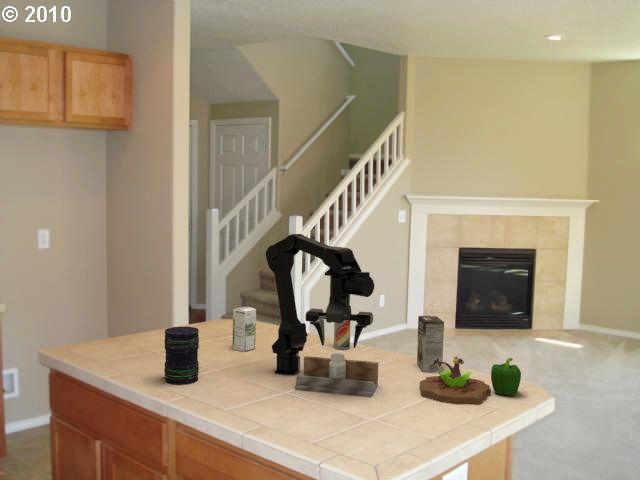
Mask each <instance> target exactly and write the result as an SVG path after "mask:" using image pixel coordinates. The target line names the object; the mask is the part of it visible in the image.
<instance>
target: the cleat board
mask: <svg viewBox="0 0 640 480" xmlns="http://www.w3.org/2000/svg"><path fill="white" fill-rule="evenodd" d="M330 361H331V357H320V356H307V355H304V356H303V375H302V374H301V375H300V374H296V377H295V378H296V379H295V380H296V383H295V385H294V391H300V392H301V391H302V392H310V393H311V392H314V393H323V394H335V395H345V396H355V397H366V398H373V396H374V394H375V392H376V390H377V388H378V386H379V361H371V360H370V361H368V360H357V359H356V360H355V359H346V358H345V360H344V361H345V362H346V379H337V378H329V362H330Z"/></svg>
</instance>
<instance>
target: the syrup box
mask: <svg viewBox="0 0 640 480" xmlns="http://www.w3.org/2000/svg"><path fill="white" fill-rule="evenodd" d="M256 323H257V309H256V308H254V307H252V306H251V307H250V306H243V307H242V306H241V307H237V308H233V314H232V350H233V351H237V352H238V351H239V352H243V353H245V352H249V351H252V350H255V349H256V329H257V328H256V326H257V325H256Z"/></svg>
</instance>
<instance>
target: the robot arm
mask: <svg viewBox="0 0 640 480" xmlns="http://www.w3.org/2000/svg"><path fill="white" fill-rule="evenodd" d="M300 251H301V252H302V253H303V252H304V253H306V254H309V255H310V256H313V257H316V258H318V259H320V260H321V261H322V263H323V264H324V265H325V266H327V267H328V268H329V269H328V270H326V271H325V272H324V276H328V277H329V299H328V304H327V307H326V309H325V312H324V309H323V308H310V309H309V310H307V311H306V312H305V322H309V323H310V325H313V326H314V328H315V329H316V331H317V335H318V337H319V340H320V343H321V345H322V346H324V345H325V340H326V339H325V321H326V323H329V324H330V323H334V322H335V323H342V322H343V321H344V320H348V321H351V322H356V324H355V326H354V337H353V338H354V339H353V349H355V348H357V345H358V341H359V338H360V336H361V334H362V332H363V329H366V328H367V327H368V326H371V325H372V324H373V322H374V314H373V313H372V312H370V311H359V312H357V314H353V313H352V307H351V306H352V305H350V304H351V303H350V302H351V295H352V296H359V297H363V298H369V297H370V296H371V295H373V293H374V290H375V282H374V280H373V278H372V277H371V274H370V273H371V272H370V271H362V269H361V267H360V265H359V263H358V261H357V259H356V257H355V254H354V252H353V249H352V248H348V247H342V246H334V245H333V246H331V245H328V244H325V243H323V242H320V241H319V240H318V241H317V240H315V239H313V238H311V237H307V236H306V235H304V234H302V233H291V234H289V235H287V237H285V238H284V239H282V240H280V241H277V242H276V243H274V244H271V245H269V246H268V248H267V249H266V251H265V258H266V261H267V266H268V267H269V269H270V270H271V272H272V273H273V274H274V279H275V285H276V293H277V298H278V306H279V313H280V318H281V319H280V320H281V321H280V323H279V328H278V329H277V331H278V332H277V333H278V335H277V337H278V338H277V339H276V340H275V341H274V342H273V344H272V345H271V349H272V350H271V351H272V353H274V354H276V370H274V373H275V374H280V375H282V374H283V375H293V376H295V375H297V373H298V372H299V371H300V370H301V356H300V355H299V354H300V352H303V351H304V348H305V345H306V343H307V340H308V339H307V338H308V337H309V334H308V333H307V324H306V323H305V322H301V321H300V320H299V318H298V312H297V305H296V298H295V291H294V285H293V284H294V283H293V279H292V269H293V267H294V264H295V256H296V255H297V254H298V253H300Z"/></svg>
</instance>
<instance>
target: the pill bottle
mask: <svg viewBox="0 0 640 480" xmlns="http://www.w3.org/2000/svg"><path fill="white" fill-rule="evenodd" d="M330 358H331V361H330V362H329V378H337V379H346V362H345V361H344V360H345V359H346V357H345V354H344V353H342V352H335V353H334V352H333V353H330Z"/></svg>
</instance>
